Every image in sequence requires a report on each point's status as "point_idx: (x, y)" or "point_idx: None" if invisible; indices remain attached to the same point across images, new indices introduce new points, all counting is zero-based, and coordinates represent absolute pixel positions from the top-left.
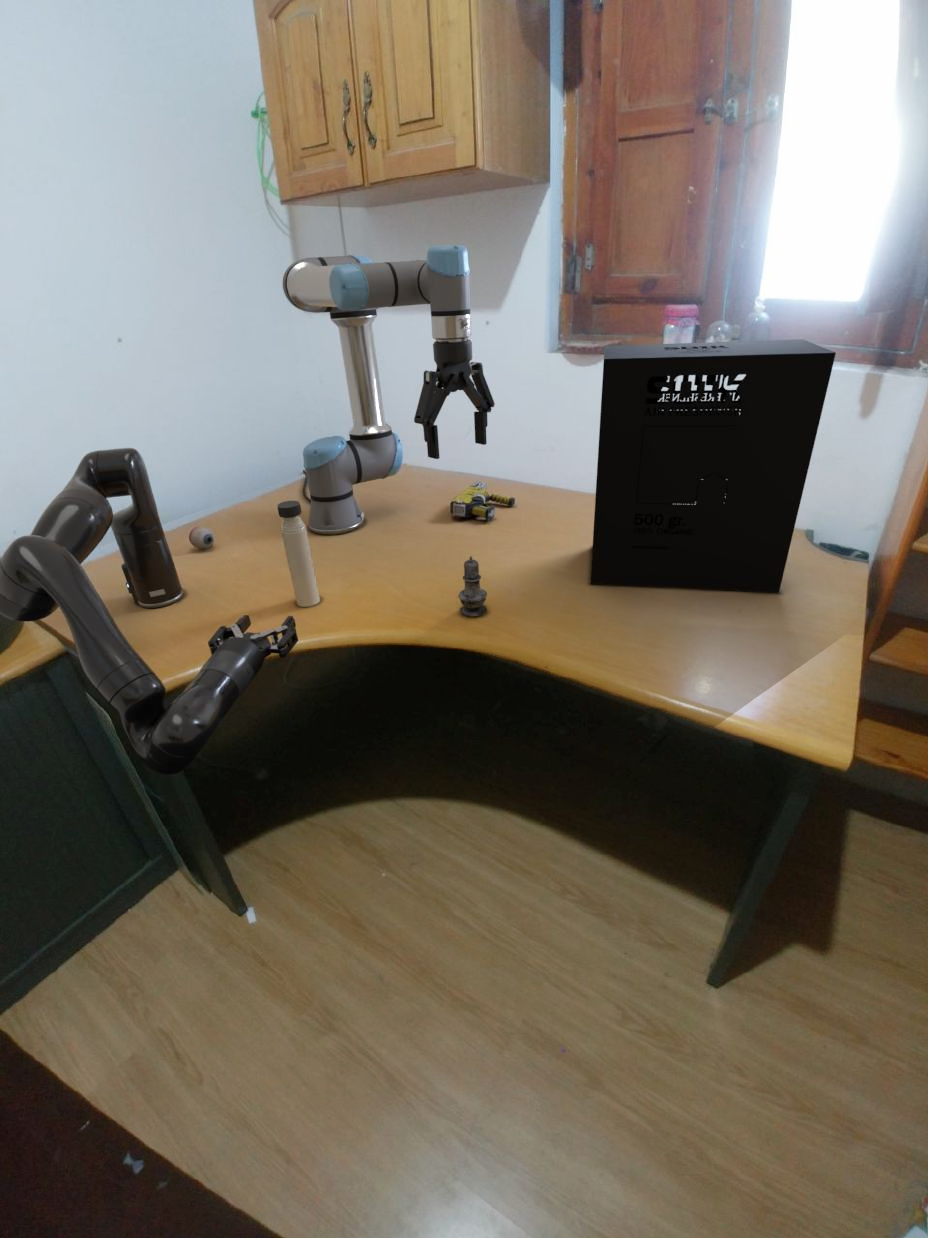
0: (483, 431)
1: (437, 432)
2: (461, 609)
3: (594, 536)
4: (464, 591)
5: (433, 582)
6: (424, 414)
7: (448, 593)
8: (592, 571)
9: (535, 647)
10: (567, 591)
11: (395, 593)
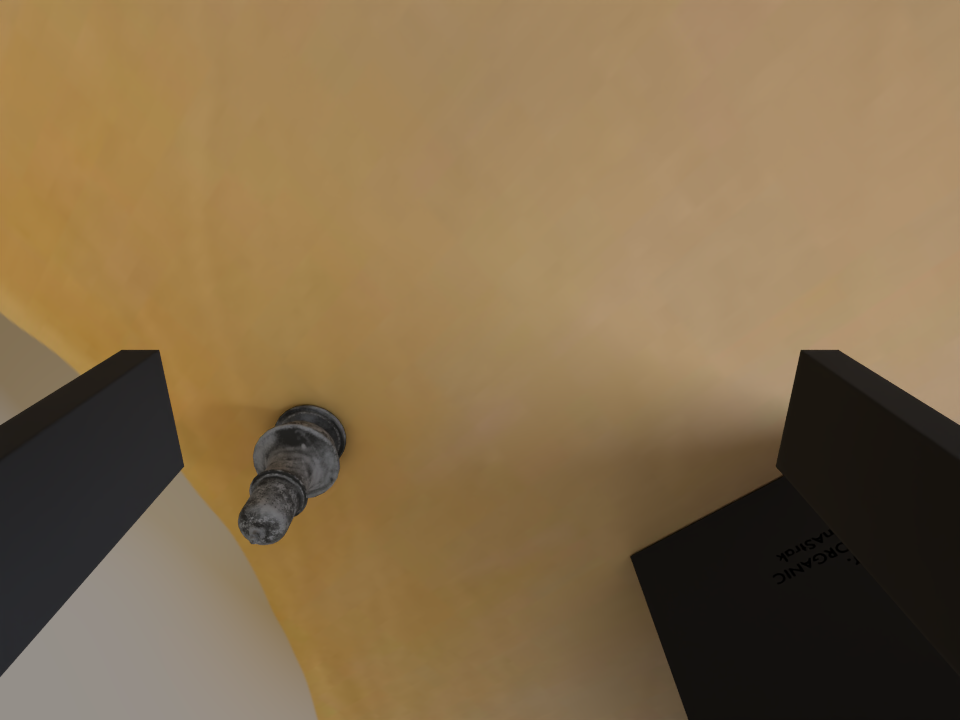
0: (853, 549)
1: (3, 667)
2: (282, 418)
3: (673, 676)
4: (268, 460)
5: (335, 214)
6: None
7: (323, 311)
8: (641, 585)
9: (309, 624)
10: (561, 536)
11: (189, 176)
